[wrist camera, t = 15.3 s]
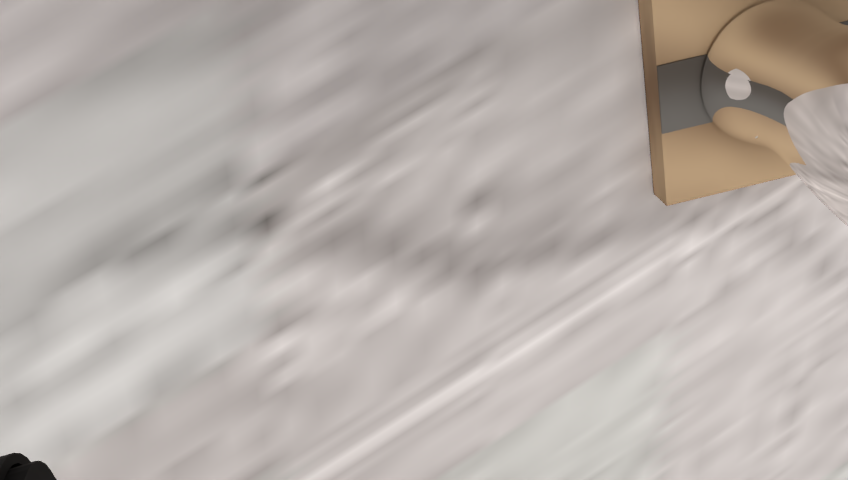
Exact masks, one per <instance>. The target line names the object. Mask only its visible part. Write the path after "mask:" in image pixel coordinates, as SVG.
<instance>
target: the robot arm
mask: <svg viewBox="0 0 848 480" xmlns="http://www.w3.org/2000/svg"><path fill="white" fill-rule="evenodd" d="M0 480H56V478H55V477H54V475H53V473H52V472H51V470H50V469H49V468H48V466H47V465H46V464H45V463H43V462H42V461H34V462H30V461H29V459H28V458H27V457H25V456H24V455H22V454H21V453H12V454H8V455H5V456H1V457H0Z"/></svg>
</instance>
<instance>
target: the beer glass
mask: <svg viewBox="0 0 848 480" xmlns="http://www.w3.org/2000/svg"><path fill="white" fill-rule="evenodd" d="M701 93H702V99H703V103H704V106H705V109H706V111H707V113H708V115H709V117H710V118H711V120H712V121H713V123H714V124H715V125H716V126H717V127H718V128H719V129H720V130H721V131H722V132H724V133H725V134H727V135H729V136H731V137H733V138H735V139H737V140H740V141H743V142H747V143H751V144H755V145H759V146H763V147H767V148H769V149H771V150H773V151H774V152H775V153H777V154H778V155H779V156H780V157H781V158H782V159H783V160H784V161H785V162H786V163H787V164H788V165H789V167H790V168H791V169H792V170H793V171H794V172H795V173H796V175H797V176H798V177H799V178H800V179H801V180H802V181H803V182H804V184H805V185H806V186H807V187H808V188H809V189H810V190H811V191H812V192H813V193H814V194H815V196H816V197H817V198H818V199H819V200H820V201H821V202H822V203H823V204H824V205H825V206H826V207H827V208H828V209H829V210H831V211H832V212H833V213H834V214H835V215H836V216H837V217H838V218H839V219H840V220H841V221H842V222H843V223H844V224H846V225H847V226H848V25H844V24H841V23H839V22H837V21H836V20H834V19H833V18H831V17H830V16H829V15H827V14H826V13H825V12H823V11H822V10H820V9H819V8H817V7H815V6H813V5H811V4H809V3H807V2H804V1H800V0H770V1H766V2H762V3H760V4H757V5H755V6H753V7H751V8H749V9H747V10H745V11H744V12H742V13H741V14H739V15H738V16H737V17H735V18H734V19H733V20H732V21H731V22H730V23H729V24H728V25H727V26H726V27H725V28H724V29H723V30H722V31H721V33H720V34H719V35H718V37H717V38H716V39H715V41H714V43H713V44H712V46H711V48H710V50H709V52H708V54H707V57H706V60H705V63H704V66H703V71H702V77H701Z"/></svg>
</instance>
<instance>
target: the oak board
mask: <svg viewBox="0 0 848 480" xmlns="http://www.w3.org/2000/svg"><path fill="white" fill-rule="evenodd" d="M766 1H770V0H638V4H639V16H640V28H641V41H642V53H643V65H644V78H645V90H646V102H647V115H648V127H649V139H650V151H651V164H652V176H653V188H654V194H655V195H656V196H657V197H658V198H659V199H660V200H661V201H662V202H663V203H664V204H665V205H666V206H668V205H673V204H677V203H681V202H685V201H689V200H693V199H697V198H701V197H705V196H710V195H714V194H718V193H722V192H726V191H730V190H734V189H738V188H743V187H747V186H751V185H755V184H759V183H763V182H767V181H771V180H775V179H780V178H784V177H788V176H792V175H796V173H795V172H794V171H793V170H792V169H791V168H790V167H789V165H788V164H787V163H786V162H785V161H784V160H783V159H782V158H781V157H780V156H779V155H778V154H777V153H775V152H774V151H773V150H771V149H769V148H767V147H763V146H759V145H755V144H751V143H747V142H743V141H740V140H737V139H735V138H733V137H731V136H729V135H727V134H725V133H724V132H722V131H721V130H720V129H719V128H718V127H717V126H716V125H715V124H714V123H713V121H712V120H711V118H710V117H709V115H708V113H707V111H706V109H705V106H704V103H703V99H702V93H701V77H702V71H703V66H704V63H705V60H706V57H707V54H708V52H709V50H710V48H711V46H712V44H713V43H714V41H715V39H716V38H717V37H718V35H719V34H720V33H721V31H722V30H723V29H724V28H725V27H726V26H727V25H728V24H729V23H730V22H731V21H732V20H733V19H734V18H735V17H737V16H738V15H739V14H741V13H742V12H744V11H745V10H747V9H749V8H751V7H753V6H755V5H757V4H760V3H762V2H766ZM800 1H804V2H807V3H809V4H811V5H813V6H815V7H817V8H819V9H820V10H822V11H823V12H825V13H826V14H827V15H829V16H830V17H831V18H833V19H834V20H836V21H837V22H839V23H841V24H844V25H848V0H800Z"/></svg>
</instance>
